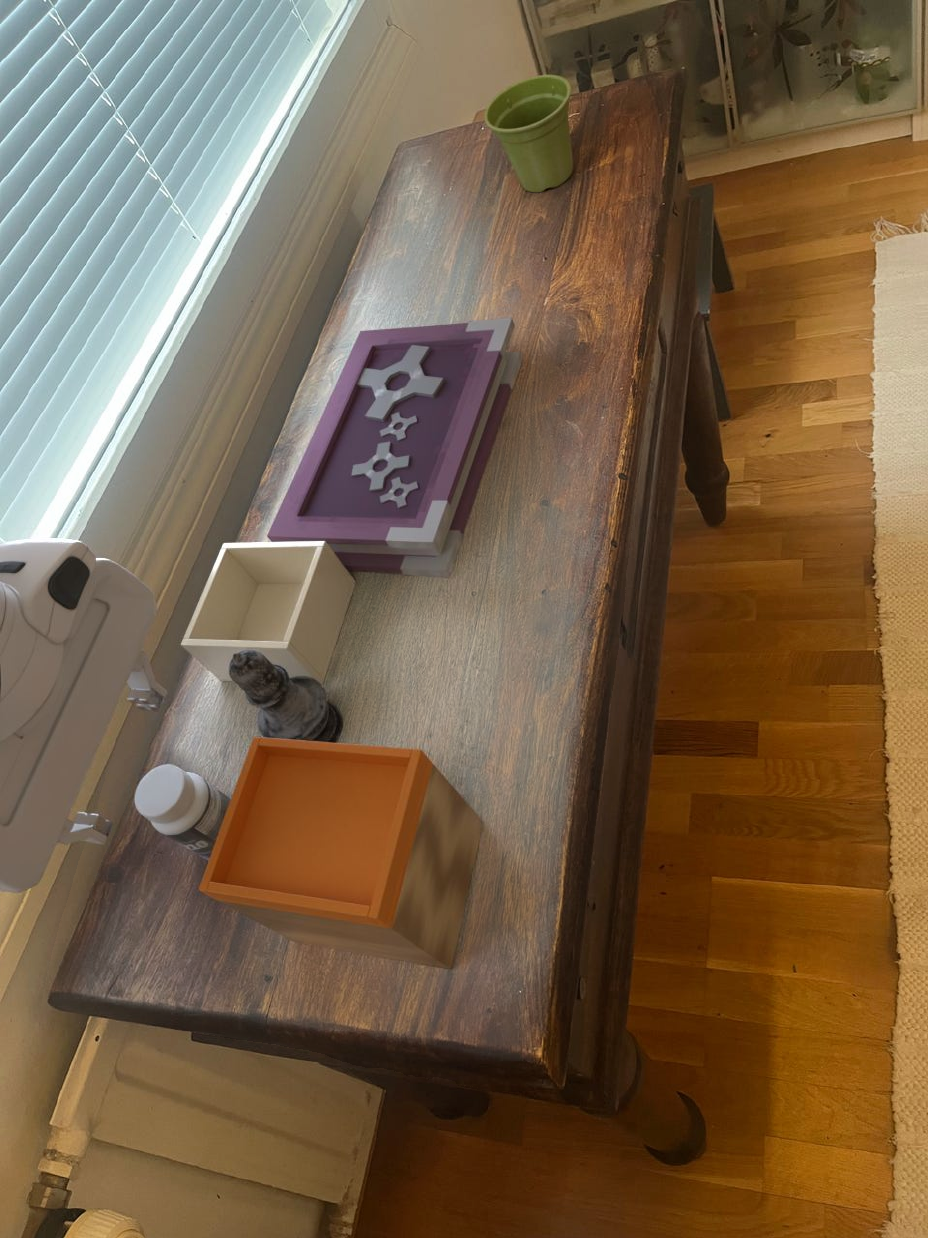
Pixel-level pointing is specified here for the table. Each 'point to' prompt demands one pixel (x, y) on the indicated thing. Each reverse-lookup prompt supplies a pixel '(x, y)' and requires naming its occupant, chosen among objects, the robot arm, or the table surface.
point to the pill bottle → (182, 807)
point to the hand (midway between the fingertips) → (129, 765)
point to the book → (403, 447)
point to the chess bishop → (285, 700)
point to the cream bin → (271, 607)
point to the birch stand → (406, 892)
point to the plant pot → (535, 130)
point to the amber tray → (320, 829)
